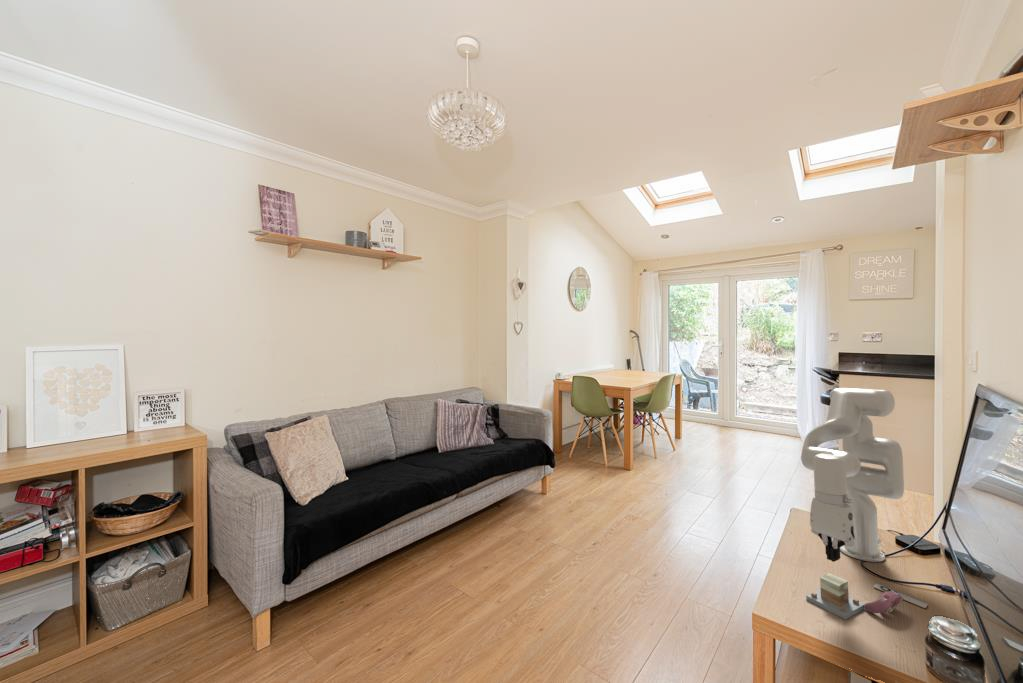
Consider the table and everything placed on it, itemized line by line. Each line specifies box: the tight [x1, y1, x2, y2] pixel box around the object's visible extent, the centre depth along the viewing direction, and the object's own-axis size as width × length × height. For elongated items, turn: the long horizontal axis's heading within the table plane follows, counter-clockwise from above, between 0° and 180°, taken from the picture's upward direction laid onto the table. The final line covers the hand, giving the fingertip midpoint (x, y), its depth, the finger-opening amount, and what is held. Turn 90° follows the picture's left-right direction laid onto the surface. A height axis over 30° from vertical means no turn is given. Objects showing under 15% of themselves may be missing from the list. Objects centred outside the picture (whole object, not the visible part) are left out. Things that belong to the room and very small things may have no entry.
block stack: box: [819, 572, 850, 607], centre depth 118 cm, size 5×5×6 cm
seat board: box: [805, 587, 866, 620], centre depth 118 cm, size 10×10×2 cm
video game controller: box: [864, 590, 904, 615], centre depth 114 cm, size 10×5×7 cm, turn 115°
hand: (833, 559), depth 118 cm, fingers closed
